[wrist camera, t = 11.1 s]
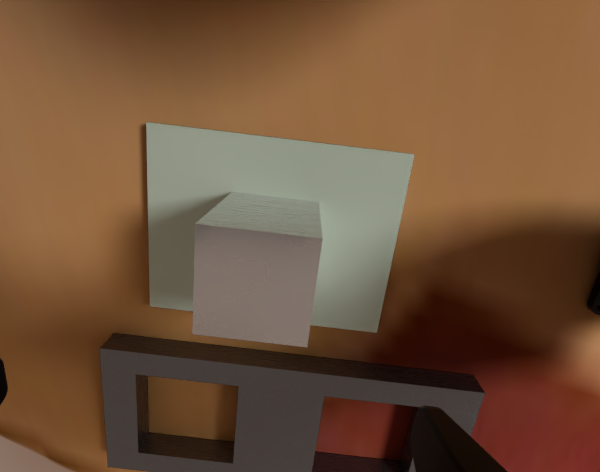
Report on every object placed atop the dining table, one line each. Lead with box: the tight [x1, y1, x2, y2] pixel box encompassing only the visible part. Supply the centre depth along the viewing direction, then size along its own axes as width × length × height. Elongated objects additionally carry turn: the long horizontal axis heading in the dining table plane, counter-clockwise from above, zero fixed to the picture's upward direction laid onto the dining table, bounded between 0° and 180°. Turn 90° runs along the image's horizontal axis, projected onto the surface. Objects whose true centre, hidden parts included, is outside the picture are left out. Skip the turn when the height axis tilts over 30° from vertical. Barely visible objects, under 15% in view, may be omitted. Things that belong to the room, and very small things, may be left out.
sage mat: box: [146, 122, 414, 333], centre depth 19 cm, size 13×10×1 cm
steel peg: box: [193, 192, 323, 347], centre depth 15 cm, size 4×4×6 cm
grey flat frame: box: [99, 333, 485, 472], centre depth 22 cm, size 22×9×2 cm, turn 83°
